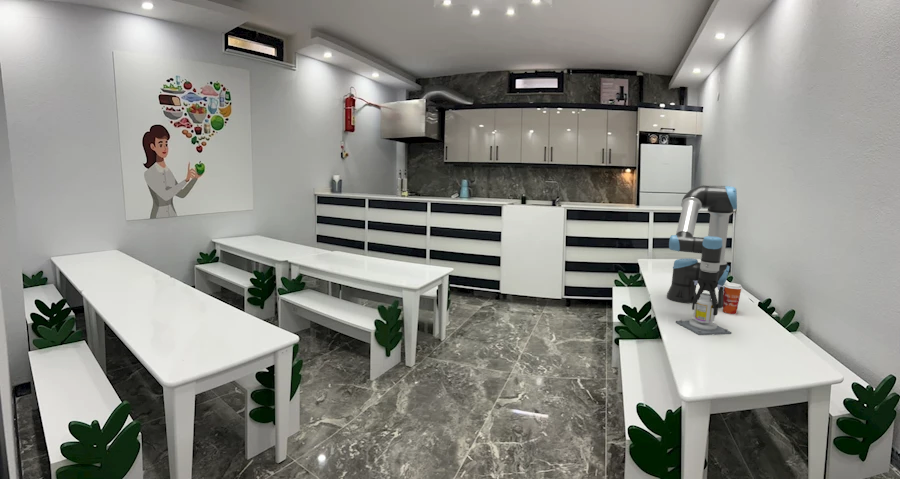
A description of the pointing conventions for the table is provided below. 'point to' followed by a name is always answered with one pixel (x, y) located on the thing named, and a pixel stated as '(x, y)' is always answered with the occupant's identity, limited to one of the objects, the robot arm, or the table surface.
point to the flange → (703, 327)
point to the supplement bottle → (704, 308)
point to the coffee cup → (731, 297)
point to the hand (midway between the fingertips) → (703, 319)
